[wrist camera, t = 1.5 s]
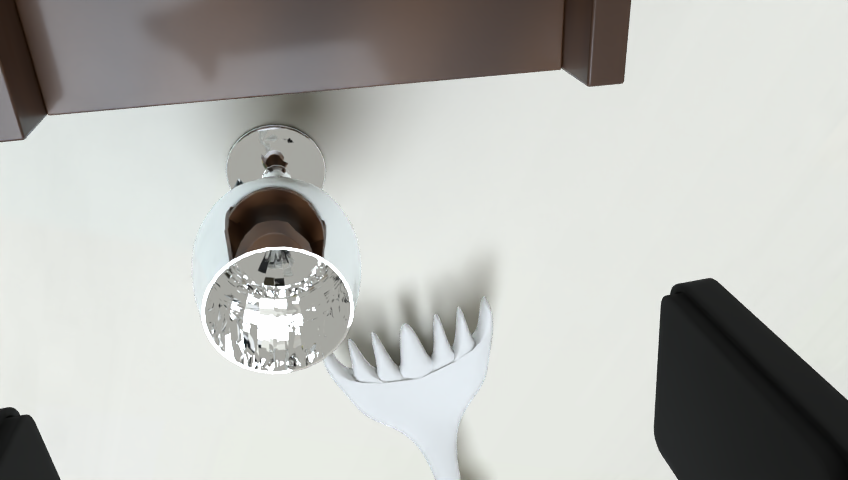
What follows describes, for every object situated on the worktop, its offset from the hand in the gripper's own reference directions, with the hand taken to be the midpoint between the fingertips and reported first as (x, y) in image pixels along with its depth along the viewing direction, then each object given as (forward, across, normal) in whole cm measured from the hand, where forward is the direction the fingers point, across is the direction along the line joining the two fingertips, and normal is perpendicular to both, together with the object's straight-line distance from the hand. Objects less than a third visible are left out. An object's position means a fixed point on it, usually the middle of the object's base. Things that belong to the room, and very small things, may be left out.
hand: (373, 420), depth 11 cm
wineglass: (+23, +2, +4) cm, 24 cm away
